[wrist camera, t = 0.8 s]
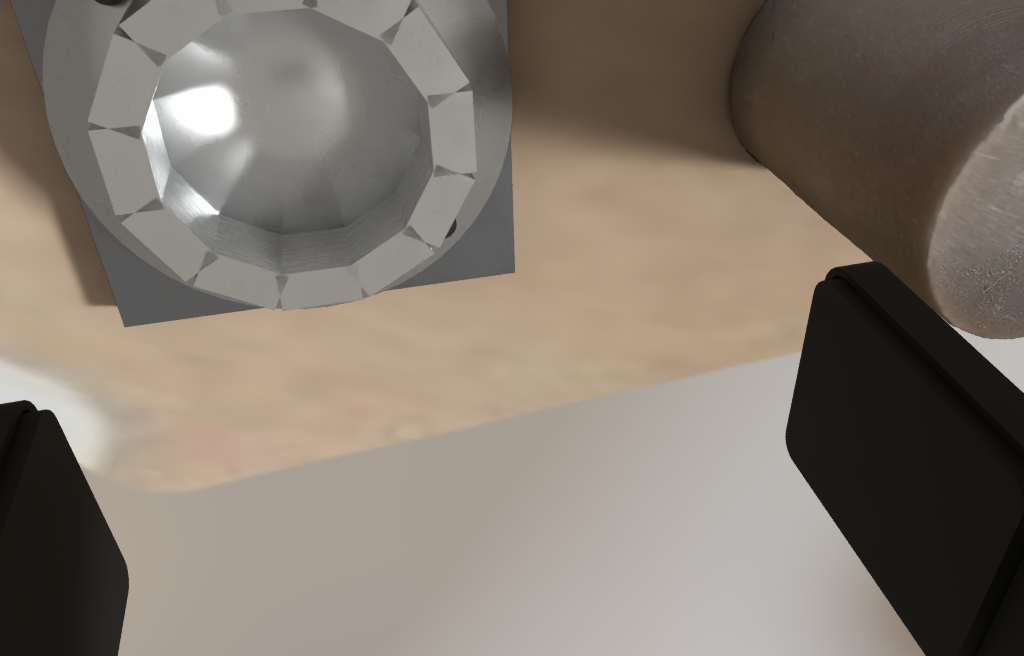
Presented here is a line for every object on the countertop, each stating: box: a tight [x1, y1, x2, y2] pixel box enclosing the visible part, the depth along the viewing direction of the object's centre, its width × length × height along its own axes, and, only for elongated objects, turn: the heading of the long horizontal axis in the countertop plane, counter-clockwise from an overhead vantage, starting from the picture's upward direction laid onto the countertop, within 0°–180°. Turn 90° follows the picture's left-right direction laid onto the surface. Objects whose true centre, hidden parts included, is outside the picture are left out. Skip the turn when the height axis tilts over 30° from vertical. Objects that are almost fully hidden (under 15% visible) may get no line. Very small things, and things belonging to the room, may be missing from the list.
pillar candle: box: [730, 0, 1024, 339], centre depth 31 cm, size 10×10×15 cm
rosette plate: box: [10, 0, 515, 327], centre depth 30 cm, size 16×16×5 cm
